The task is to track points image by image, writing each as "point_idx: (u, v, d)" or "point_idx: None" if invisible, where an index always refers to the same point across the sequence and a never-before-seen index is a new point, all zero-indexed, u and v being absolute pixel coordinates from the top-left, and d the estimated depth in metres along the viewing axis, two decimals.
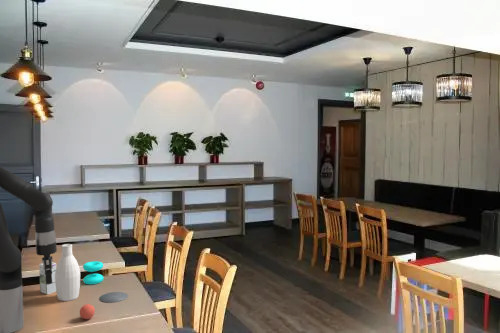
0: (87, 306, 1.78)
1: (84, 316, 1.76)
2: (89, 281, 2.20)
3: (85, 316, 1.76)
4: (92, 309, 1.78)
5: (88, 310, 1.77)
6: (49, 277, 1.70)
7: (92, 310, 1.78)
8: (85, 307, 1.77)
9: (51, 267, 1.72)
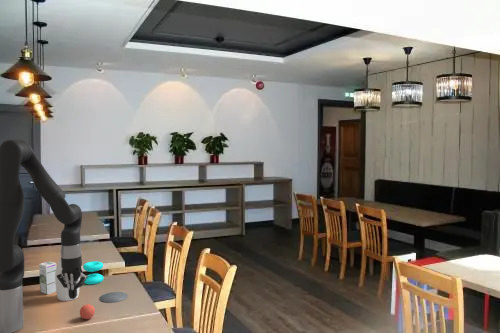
0: (87, 306, 1.78)
1: (84, 316, 1.76)
2: (89, 281, 2.20)
3: (85, 316, 1.76)
4: (92, 309, 1.78)
5: (88, 310, 1.77)
6: None
7: (92, 310, 1.78)
8: (85, 307, 1.77)
9: None
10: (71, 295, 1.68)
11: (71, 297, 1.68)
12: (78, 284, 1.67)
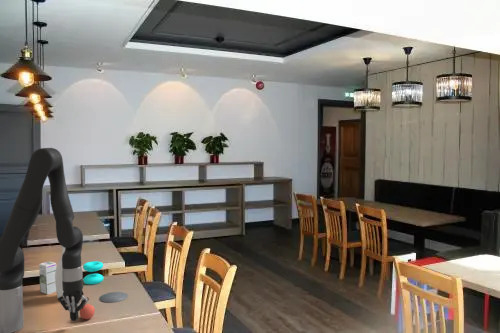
0: (87, 306, 1.78)
1: (84, 316, 1.76)
2: (89, 281, 2.20)
3: (85, 316, 1.76)
4: (92, 309, 1.78)
5: (88, 310, 1.77)
6: None
7: (92, 310, 1.78)
8: (85, 307, 1.77)
9: (68, 305, 1.69)
10: (72, 317, 1.69)
11: (72, 319, 1.69)
12: (79, 307, 1.67)
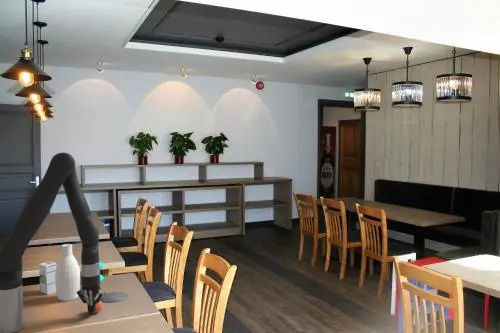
0: None
1: None
2: None
3: None
4: None
5: None
6: None
7: None
8: None
9: None
10: (90, 310, 1.80)
11: (90, 312, 1.80)
12: (96, 300, 1.79)
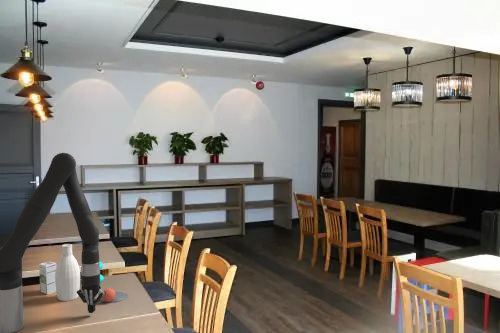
0: (108, 292, 1.96)
1: (107, 301, 1.96)
2: None
3: (108, 301, 1.96)
4: (113, 294, 1.97)
5: (109, 296, 1.95)
6: None
7: (113, 295, 1.97)
8: (106, 294, 1.95)
9: (86, 298, 1.81)
10: (90, 310, 1.81)
11: (90, 311, 1.81)
12: (97, 300, 1.80)
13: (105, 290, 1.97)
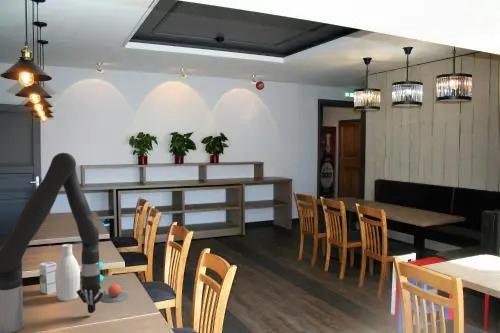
0: None
1: (114, 285, 2.03)
2: None
3: (115, 285, 2.03)
4: (120, 289, 2.05)
5: None
6: None
7: (120, 288, 2.04)
8: None
9: (86, 298, 1.81)
10: (90, 310, 1.81)
11: (90, 311, 1.81)
12: (97, 300, 1.80)
13: None
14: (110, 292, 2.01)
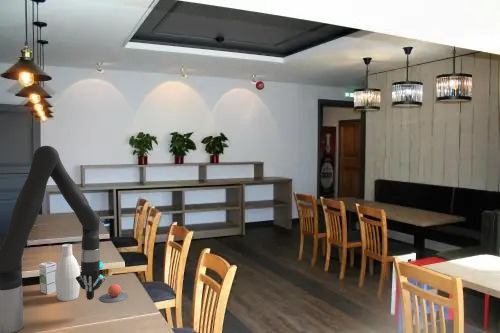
0: None
1: (114, 285, 2.03)
2: None
3: (115, 285, 2.03)
4: (120, 289, 2.05)
5: None
6: None
7: (120, 288, 2.04)
8: None
9: (85, 285, 1.80)
10: (88, 296, 1.80)
11: (88, 298, 1.80)
12: (96, 286, 1.79)
13: None
14: (110, 292, 2.01)
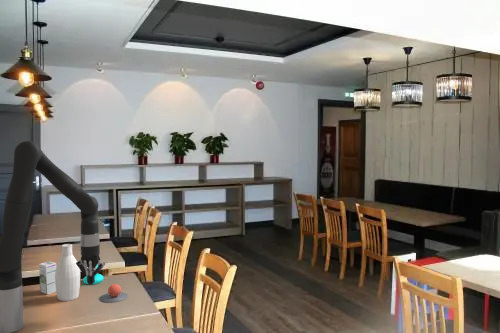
0: None
1: (114, 285, 2.03)
2: None
3: (115, 285, 2.03)
4: (120, 289, 2.05)
5: None
6: None
7: (120, 288, 2.04)
8: None
9: (85, 269, 1.80)
10: (89, 281, 1.80)
11: (89, 283, 1.80)
12: (96, 271, 1.79)
13: None
14: (110, 292, 2.01)
